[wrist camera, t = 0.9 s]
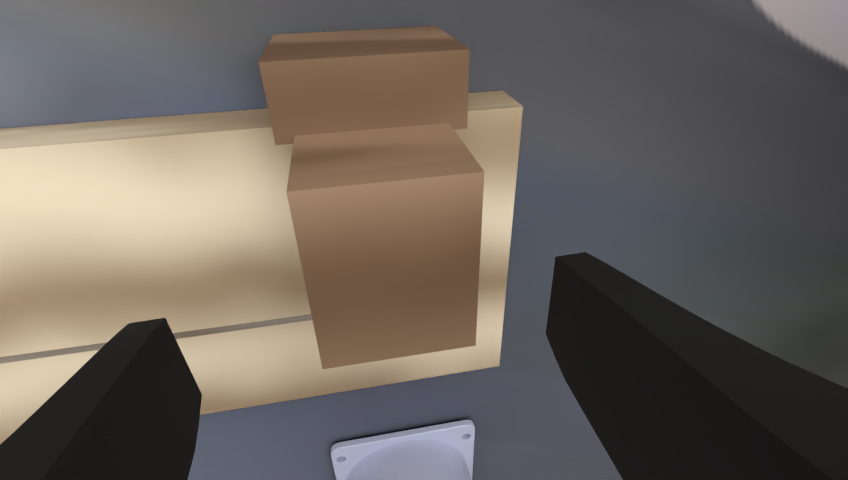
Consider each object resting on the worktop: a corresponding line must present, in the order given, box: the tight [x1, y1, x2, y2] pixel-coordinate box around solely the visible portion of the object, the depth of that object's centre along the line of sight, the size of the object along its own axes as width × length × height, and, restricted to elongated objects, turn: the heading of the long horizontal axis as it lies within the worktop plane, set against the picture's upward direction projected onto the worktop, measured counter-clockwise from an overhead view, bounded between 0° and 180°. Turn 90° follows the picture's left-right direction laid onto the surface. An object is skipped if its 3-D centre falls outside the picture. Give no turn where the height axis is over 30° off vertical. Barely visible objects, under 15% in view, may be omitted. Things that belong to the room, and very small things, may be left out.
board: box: [0, 91, 523, 444], centre depth 17 cm, size 12×24×2 cm, turn 91°
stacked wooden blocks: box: [259, 26, 484, 369], centre depth 14 cm, size 10×5×7 cm, turn 1°
